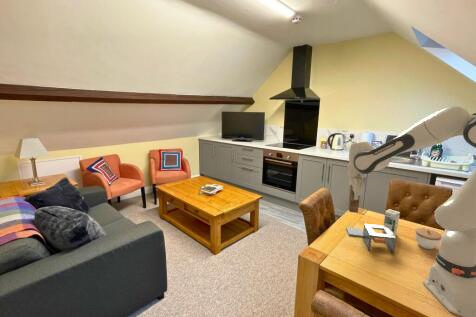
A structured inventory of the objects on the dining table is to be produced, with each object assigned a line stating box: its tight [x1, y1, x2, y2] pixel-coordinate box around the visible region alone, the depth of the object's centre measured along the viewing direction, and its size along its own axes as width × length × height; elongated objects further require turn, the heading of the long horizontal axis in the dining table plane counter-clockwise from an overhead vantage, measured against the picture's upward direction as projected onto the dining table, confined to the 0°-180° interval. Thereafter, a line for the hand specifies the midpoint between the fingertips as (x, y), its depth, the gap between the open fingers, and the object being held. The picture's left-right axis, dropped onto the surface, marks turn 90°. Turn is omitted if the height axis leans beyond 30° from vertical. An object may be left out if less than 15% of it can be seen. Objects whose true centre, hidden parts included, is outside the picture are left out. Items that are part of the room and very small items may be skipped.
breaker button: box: [372, 237, 386, 245], centre depth 127 cm, size 5×5×2 cm
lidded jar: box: [414, 227, 442, 250], centre depth 126 cm, size 11×11×9 cm
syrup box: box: [381, 208, 401, 236], centre depth 137 cm, size 6×6×14 cm
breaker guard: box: [361, 223, 397, 255], centre depth 127 cm, size 12×12×9 cm
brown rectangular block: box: [347, 185, 361, 214], centre depth 125 cm, size 4×4×14 cm
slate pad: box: [346, 226, 363, 238], centre depth 140 cm, size 8×8×1 cm
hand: (354, 197), depth 125 cm, fingers closed on brown rectangular block, 4 cm apart
